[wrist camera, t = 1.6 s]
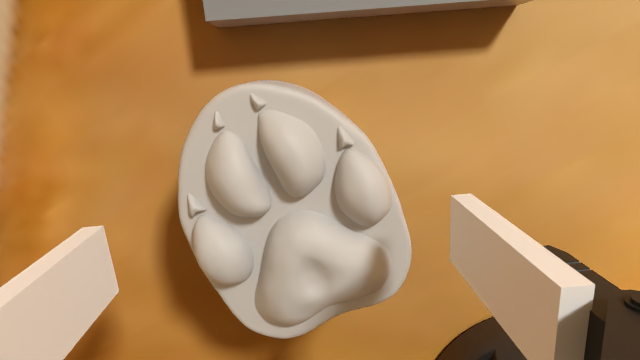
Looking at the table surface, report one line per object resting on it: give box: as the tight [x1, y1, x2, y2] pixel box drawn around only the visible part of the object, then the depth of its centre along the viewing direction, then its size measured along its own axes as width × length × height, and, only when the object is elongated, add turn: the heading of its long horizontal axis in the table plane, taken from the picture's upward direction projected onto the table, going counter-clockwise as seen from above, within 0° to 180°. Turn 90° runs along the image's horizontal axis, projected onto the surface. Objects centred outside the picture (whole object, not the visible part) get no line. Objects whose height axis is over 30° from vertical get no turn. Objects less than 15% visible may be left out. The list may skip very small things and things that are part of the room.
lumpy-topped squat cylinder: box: [178, 80, 412, 339], centre depth 22 cm, size 10×13×9 cm
